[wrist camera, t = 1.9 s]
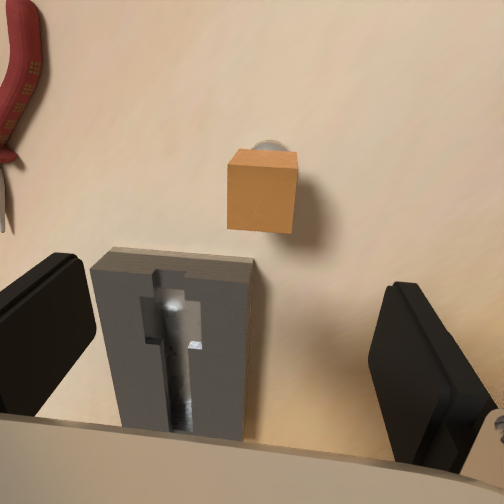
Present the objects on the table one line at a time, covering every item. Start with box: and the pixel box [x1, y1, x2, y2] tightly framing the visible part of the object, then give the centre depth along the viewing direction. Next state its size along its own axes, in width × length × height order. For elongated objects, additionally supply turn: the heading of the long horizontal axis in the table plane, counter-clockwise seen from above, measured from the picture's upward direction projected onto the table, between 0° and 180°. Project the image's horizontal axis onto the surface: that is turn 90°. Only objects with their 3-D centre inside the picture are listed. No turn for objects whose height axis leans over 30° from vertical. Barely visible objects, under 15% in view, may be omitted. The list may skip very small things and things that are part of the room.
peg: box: [227, 140, 298, 234], centre depth 24 cm, size 4×4×10 cm
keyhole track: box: [90, 247, 253, 441], centre depth 37 cm, size 14×24×4 cm, turn 178°
